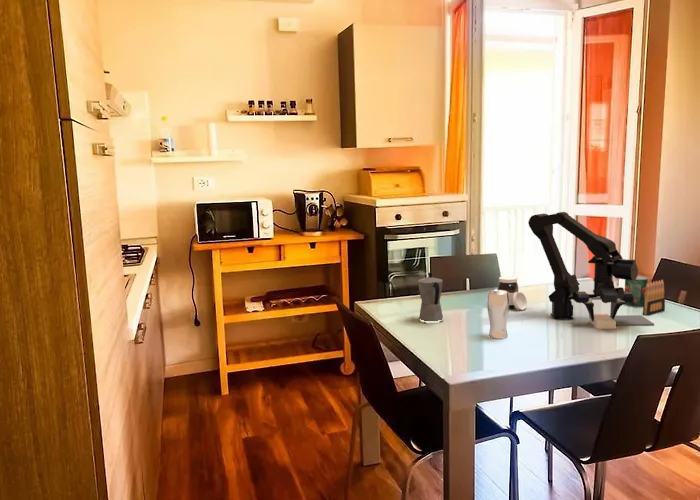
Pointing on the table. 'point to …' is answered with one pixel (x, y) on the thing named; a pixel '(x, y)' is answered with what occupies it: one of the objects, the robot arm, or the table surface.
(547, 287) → the table surface
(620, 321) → the card mat
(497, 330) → the beer glass
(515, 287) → the spread jar
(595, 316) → the card deck
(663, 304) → the ammunition clip
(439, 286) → the coffeepot
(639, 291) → the canned tomato
